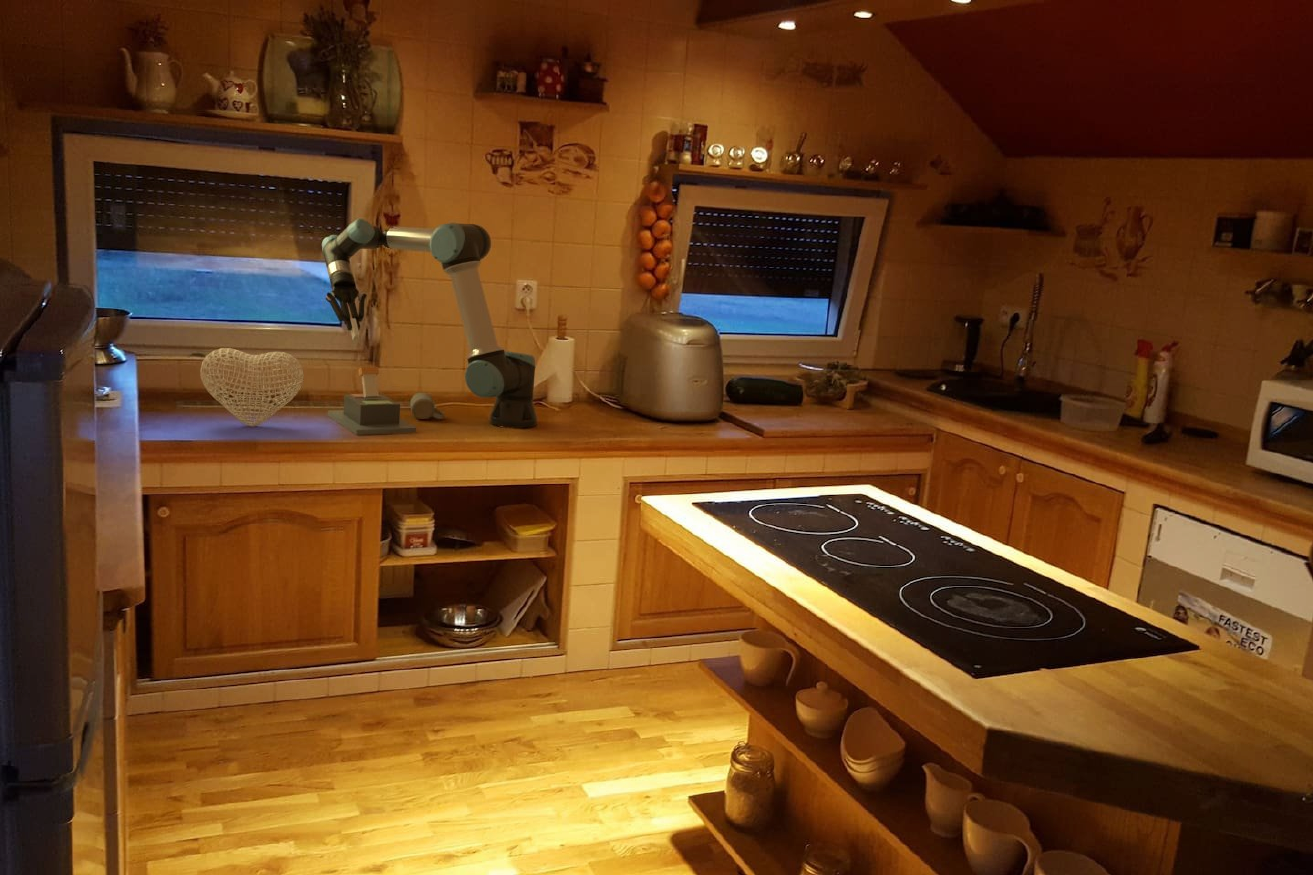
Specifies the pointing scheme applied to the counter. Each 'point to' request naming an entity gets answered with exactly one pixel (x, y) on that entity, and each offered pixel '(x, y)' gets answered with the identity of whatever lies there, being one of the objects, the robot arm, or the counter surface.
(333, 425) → the counter surface
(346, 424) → the breaker box
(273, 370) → the heart
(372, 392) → the breaker lever
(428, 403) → the ceramic mug
